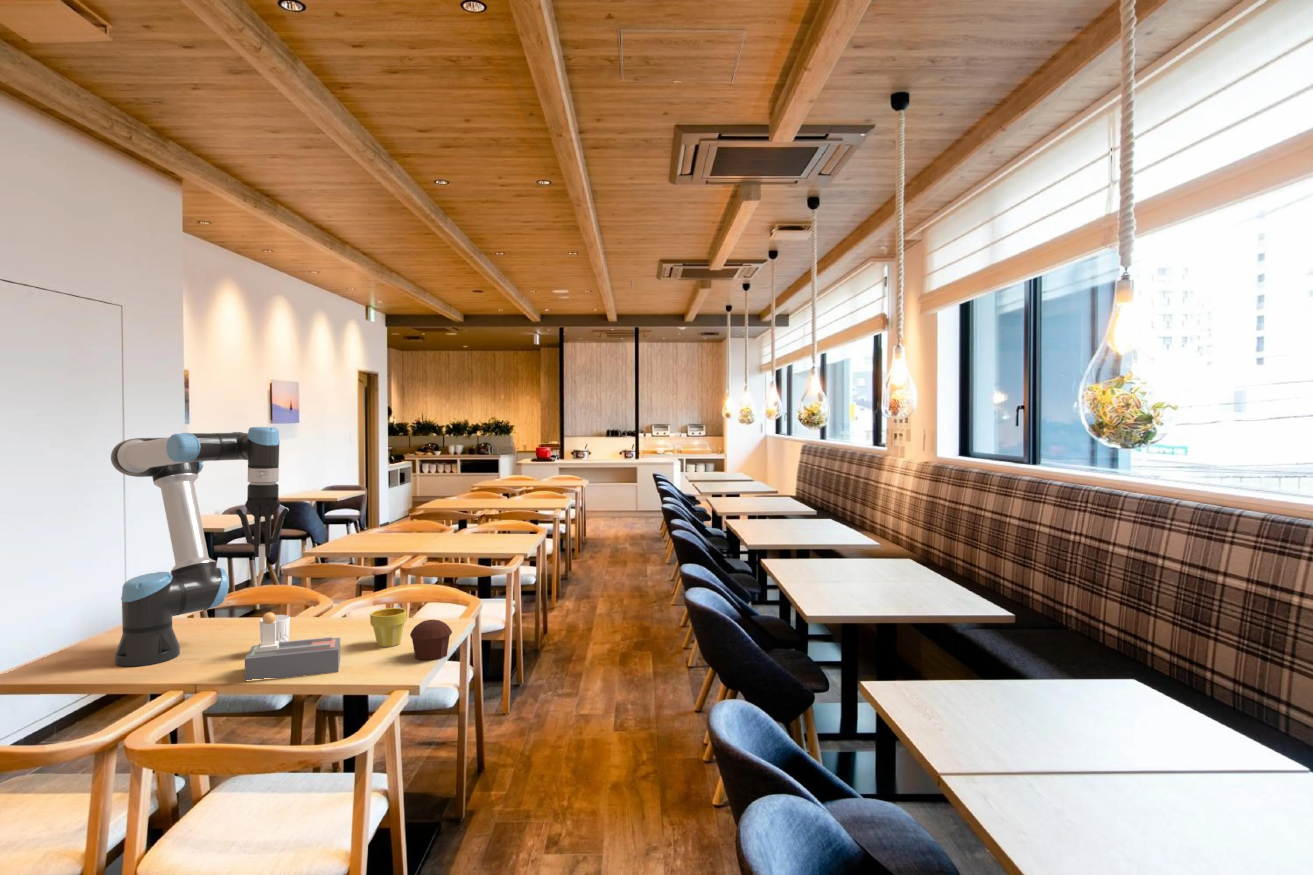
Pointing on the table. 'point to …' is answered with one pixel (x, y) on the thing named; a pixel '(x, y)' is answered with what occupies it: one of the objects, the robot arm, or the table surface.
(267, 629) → the lever
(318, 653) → the switch block
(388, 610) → the plant pot
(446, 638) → the muffin
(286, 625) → the white cup
